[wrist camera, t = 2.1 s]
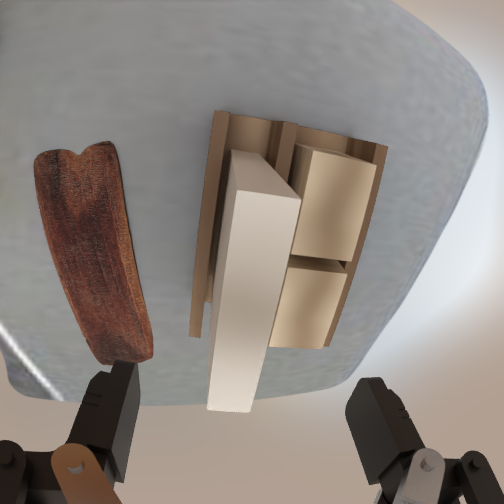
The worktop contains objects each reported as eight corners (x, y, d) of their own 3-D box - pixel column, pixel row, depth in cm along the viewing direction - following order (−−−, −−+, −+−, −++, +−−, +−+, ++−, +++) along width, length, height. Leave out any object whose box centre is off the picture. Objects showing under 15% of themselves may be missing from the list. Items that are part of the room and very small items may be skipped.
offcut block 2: (258, 294, 32) (268, 346, 25) (272, 228, 29) (288, 267, 22) (301, 298, 32) (321, 348, 25) (318, 234, 30) (347, 274, 22)
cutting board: (212, 276, 31) (206, 409, 16) (230, 149, 26) (237, 190, 11) (237, 278, 31) (249, 412, 16) (258, 153, 26) (301, 199, 12)
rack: (194, 294, 33) (188, 336, 26) (217, 112, 26) (214, 110, 19) (311, 305, 34) (328, 346, 28) (353, 138, 27) (388, 146, 21)
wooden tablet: (161, 370, 36) (87, 374, 34) (162, 358, 38) (90, 363, 36) (116, 137, 25) (23, 157, 23) (121, 136, 27) (32, 154, 25)
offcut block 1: (274, 218, 29) (291, 254, 21) (288, 141, 26) (313, 150, 19) (321, 224, 29) (351, 261, 22) (337, 151, 27) (376, 165, 19)
